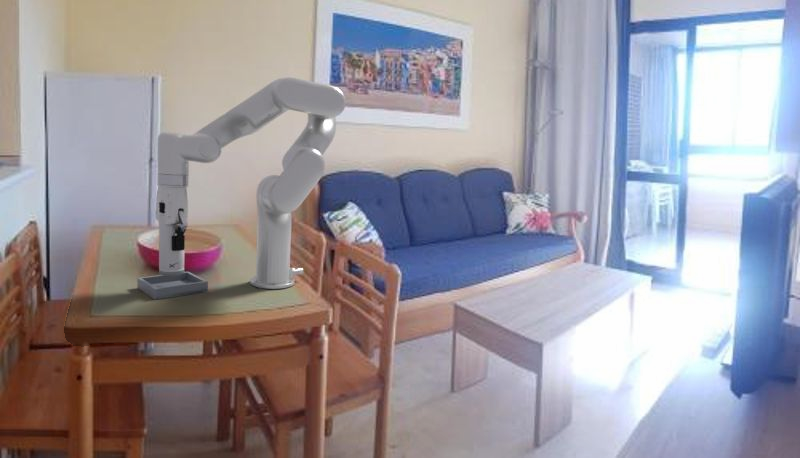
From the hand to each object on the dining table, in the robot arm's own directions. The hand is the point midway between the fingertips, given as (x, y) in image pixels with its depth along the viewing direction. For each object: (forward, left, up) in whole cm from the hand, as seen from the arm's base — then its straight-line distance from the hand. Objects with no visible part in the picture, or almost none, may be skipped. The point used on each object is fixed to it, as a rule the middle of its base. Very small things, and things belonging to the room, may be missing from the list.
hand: (172, 247), depth 150 cm
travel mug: (0, 0, -7) cm, 7 cm away
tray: (0, 0, -12) cm, 12 cm away
